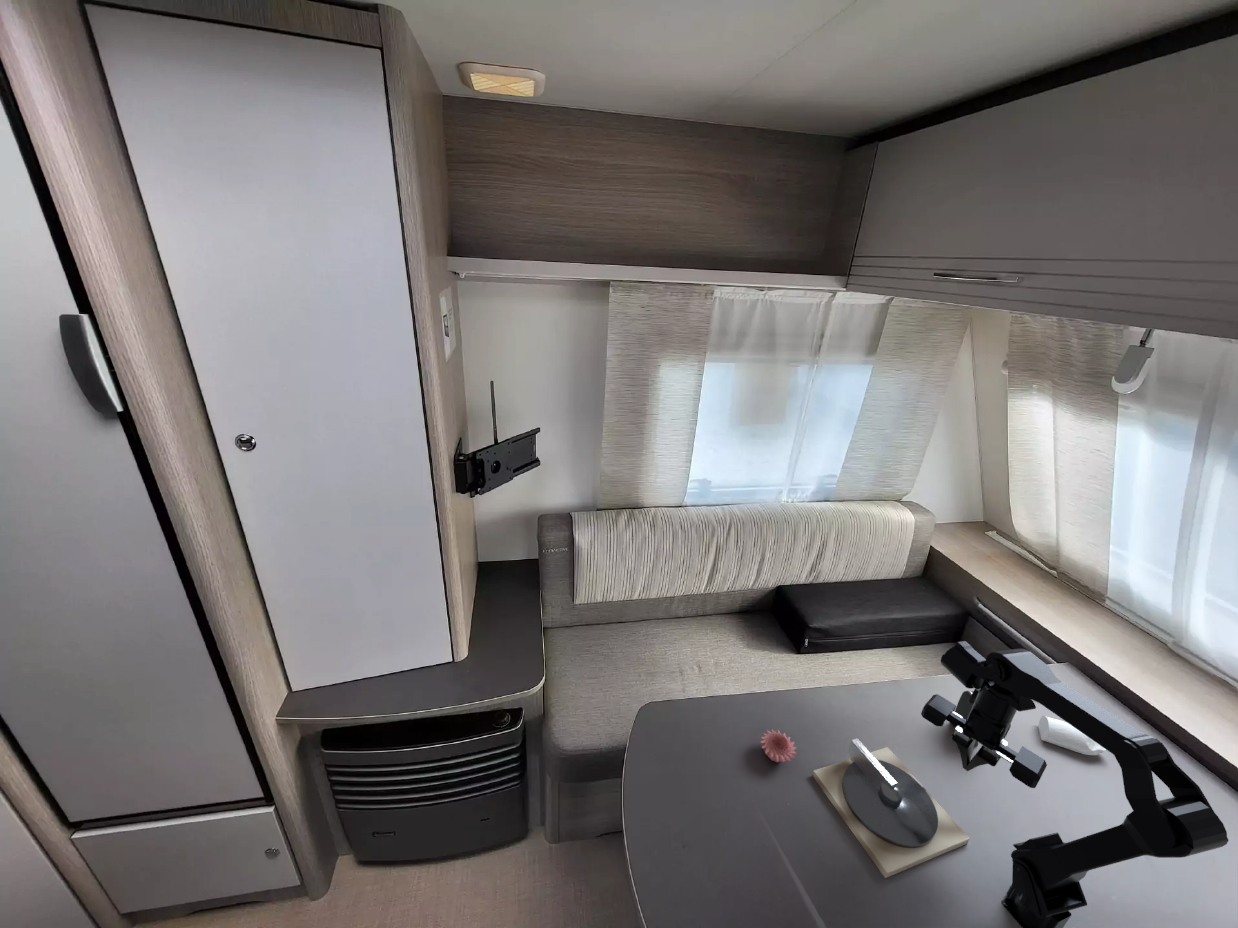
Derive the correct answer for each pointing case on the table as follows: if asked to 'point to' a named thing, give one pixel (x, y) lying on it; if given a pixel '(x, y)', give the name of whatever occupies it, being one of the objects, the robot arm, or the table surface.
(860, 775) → the dial
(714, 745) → the table surface
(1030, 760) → the robot arm
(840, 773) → the dial board
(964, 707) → the battery charger
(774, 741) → the flower
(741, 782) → the table surface
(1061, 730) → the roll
